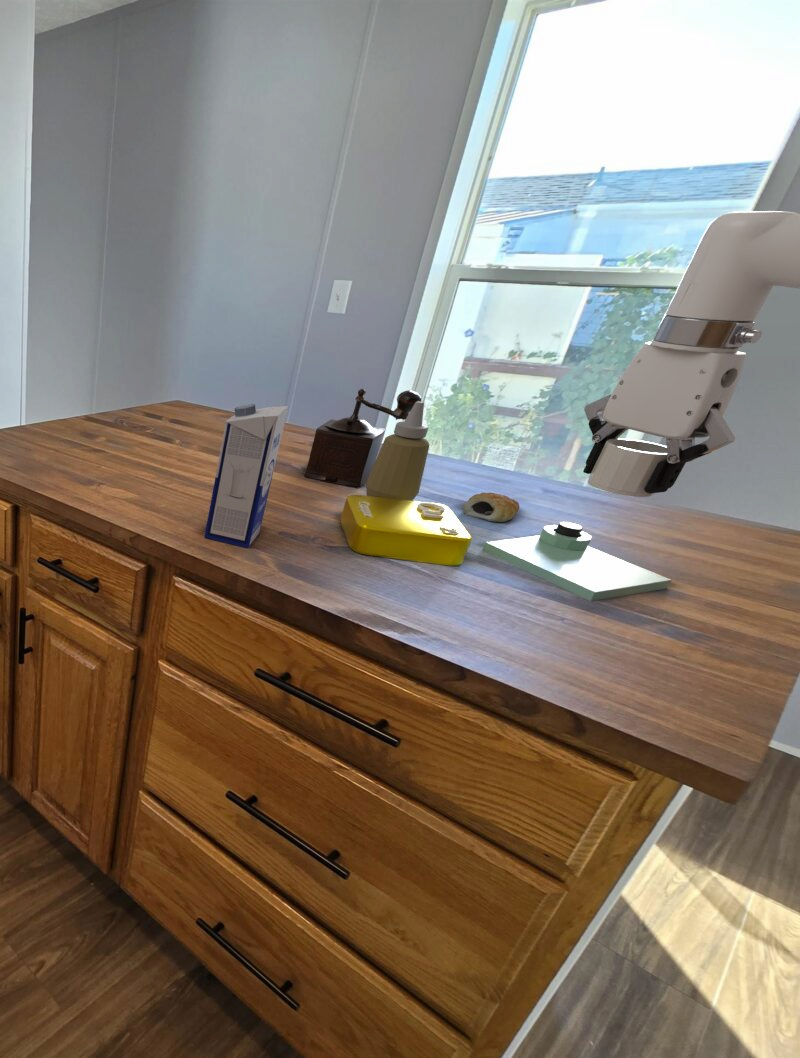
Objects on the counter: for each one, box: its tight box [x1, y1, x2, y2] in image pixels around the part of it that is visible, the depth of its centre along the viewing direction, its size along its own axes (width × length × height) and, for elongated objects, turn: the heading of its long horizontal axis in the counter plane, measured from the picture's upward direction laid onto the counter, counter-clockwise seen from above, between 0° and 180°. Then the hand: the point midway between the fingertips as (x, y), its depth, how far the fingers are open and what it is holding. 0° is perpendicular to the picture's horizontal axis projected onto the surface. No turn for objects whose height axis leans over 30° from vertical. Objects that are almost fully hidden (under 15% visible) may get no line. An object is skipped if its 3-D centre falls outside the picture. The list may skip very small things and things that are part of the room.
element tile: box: [340, 494, 473, 567], centre depth 100 cm, size 15×15×5 cm
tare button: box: [555, 521, 583, 538], centre depth 97 cm, size 3×3×2 cm
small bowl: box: [587, 438, 667, 498], centre depth 84 cm, size 7×7×6 cm
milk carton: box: [204, 403, 289, 549], centre depth 97 cm, size 7×7×20 cm
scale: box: [481, 524, 673, 602], centre depth 93 cm, size 16×14×3 cm
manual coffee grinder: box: [304, 388, 422, 488], centre depth 122 cm, size 16×11×18 cm
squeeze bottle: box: [365, 401, 430, 501], centre depth 109 cm, size 8×8×18 cm
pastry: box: [461, 491, 520, 523], centre depth 110 cm, size 9×7×4 cm
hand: (623, 480), depth 85 cm, fingers closed on small bowl, 6 cm apart
